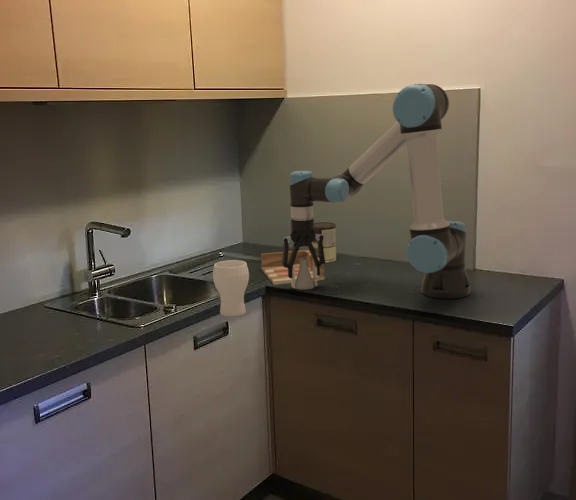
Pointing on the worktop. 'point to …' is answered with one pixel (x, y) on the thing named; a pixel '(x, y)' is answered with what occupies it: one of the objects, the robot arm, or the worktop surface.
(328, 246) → the coffee can
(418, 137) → the robot arm
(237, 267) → the cup
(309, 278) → the flask
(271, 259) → the tray
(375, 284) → the worktop surface
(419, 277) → the worktop surface
